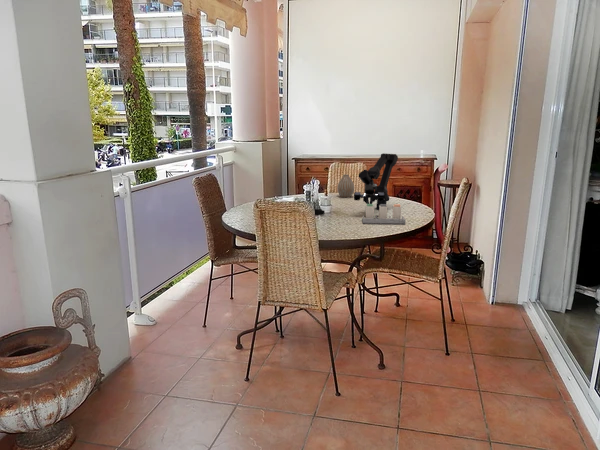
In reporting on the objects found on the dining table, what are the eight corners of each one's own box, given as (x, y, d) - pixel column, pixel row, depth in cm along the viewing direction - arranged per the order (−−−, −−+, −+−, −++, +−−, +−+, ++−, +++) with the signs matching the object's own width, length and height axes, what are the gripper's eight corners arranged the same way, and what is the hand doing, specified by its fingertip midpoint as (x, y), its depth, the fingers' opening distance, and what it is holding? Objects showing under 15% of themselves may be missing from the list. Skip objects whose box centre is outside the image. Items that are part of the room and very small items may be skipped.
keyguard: (362, 218, 266) (362, 214, 265) (403, 219, 263) (403, 215, 262) (362, 222, 256) (362, 218, 255) (405, 223, 253) (405, 219, 252)
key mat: (362, 219, 267) (362, 218, 267) (402, 220, 264) (402, 218, 264) (362, 224, 256) (362, 222, 256) (405, 224, 253) (405, 223, 253)
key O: (392, 218, 264) (393, 204, 262) (399, 218, 263) (400, 204, 261) (393, 220, 259) (393, 205, 257) (400, 220, 259) (401, 205, 257)
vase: (340, 198, 335) (340, 176, 331) (335, 196, 348) (335, 174, 344) (356, 198, 338) (357, 175, 334) (350, 195, 351) (351, 173, 347)
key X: (378, 218, 265) (379, 203, 262) (386, 218, 264) (386, 204, 262) (379, 220, 260) (379, 205, 258) (386, 220, 260) (387, 205, 258)
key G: (365, 218, 266) (366, 203, 263) (372, 218, 265) (373, 203, 263) (365, 219, 261) (366, 205, 259) (373, 220, 261) (373, 205, 259)
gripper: (354, 179, 271) (354, 200, 263) (385, 179, 269) (385, 200, 261) (354, 189, 281) (353, 210, 273) (383, 190, 278) (384, 210, 270)
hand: (369, 207), depth 269 cm, fingers closed
